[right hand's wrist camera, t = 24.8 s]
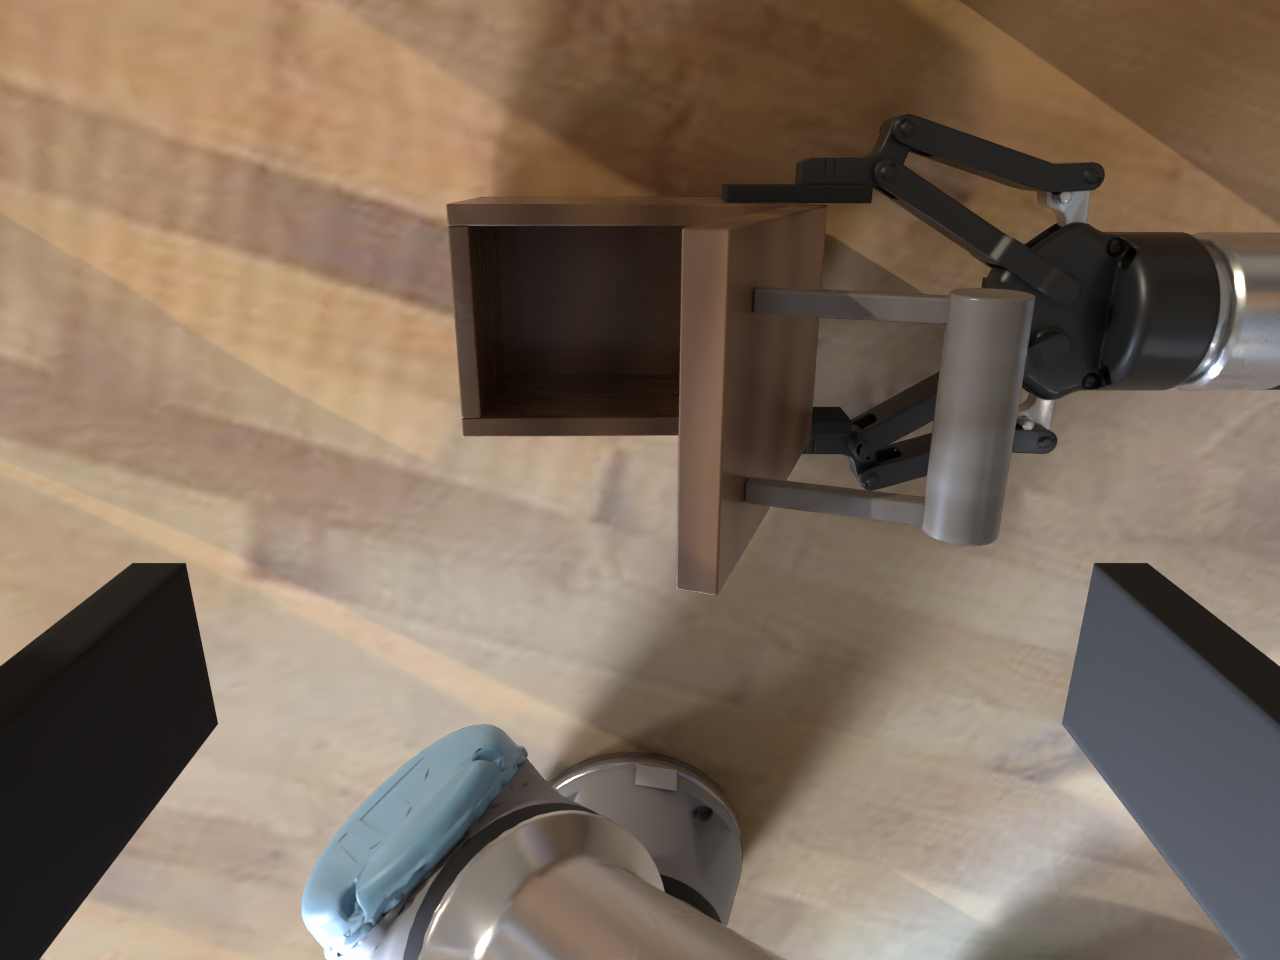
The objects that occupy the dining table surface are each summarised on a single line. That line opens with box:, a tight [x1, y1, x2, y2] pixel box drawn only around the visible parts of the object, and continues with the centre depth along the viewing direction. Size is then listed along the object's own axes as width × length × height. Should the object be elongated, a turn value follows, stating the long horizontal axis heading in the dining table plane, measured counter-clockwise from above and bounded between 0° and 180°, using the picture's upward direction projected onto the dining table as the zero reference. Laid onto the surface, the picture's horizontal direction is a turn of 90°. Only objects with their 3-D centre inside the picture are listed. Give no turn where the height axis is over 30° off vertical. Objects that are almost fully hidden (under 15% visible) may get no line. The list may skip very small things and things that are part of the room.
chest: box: [447, 197, 808, 437], centre depth 43 cm, size 15×10×10 cm
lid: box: [676, 205, 1035, 595], centre depth 29 cm, size 16×10×9 cm
